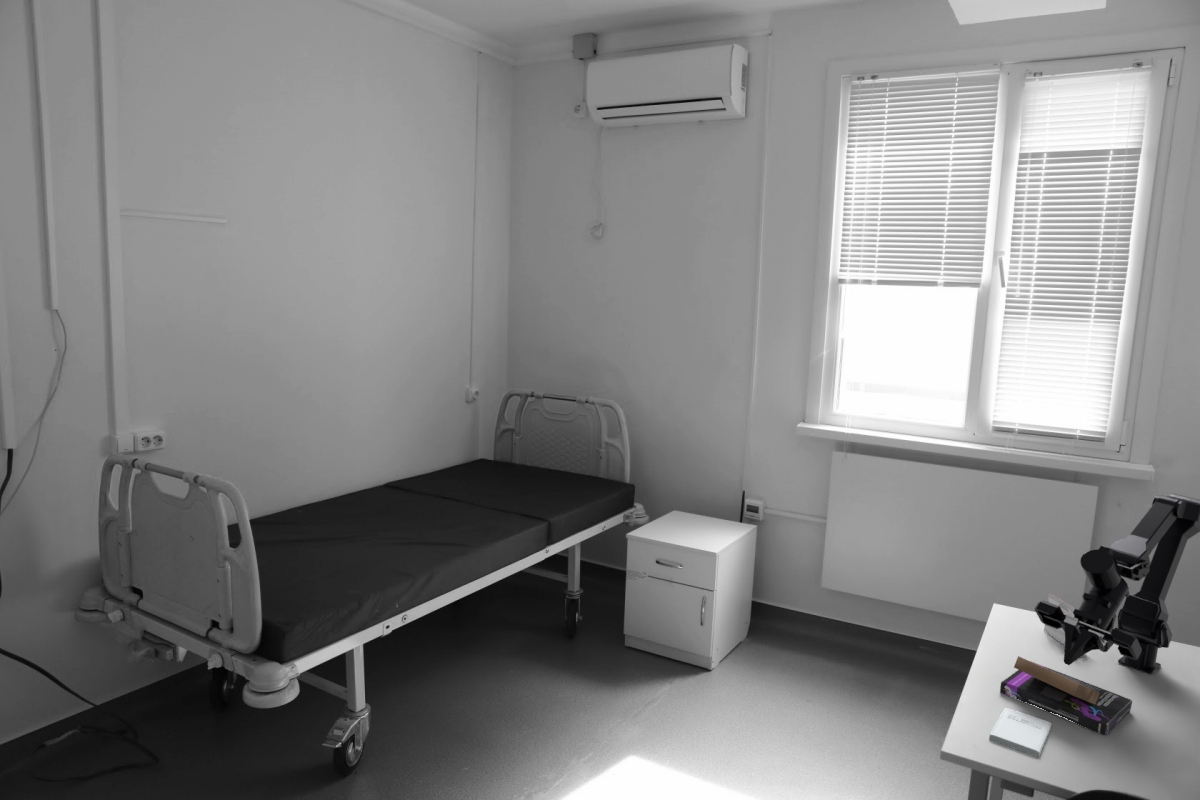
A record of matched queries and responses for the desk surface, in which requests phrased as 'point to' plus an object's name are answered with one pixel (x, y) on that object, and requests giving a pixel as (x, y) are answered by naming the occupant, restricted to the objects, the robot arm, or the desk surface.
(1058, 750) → the desk surface
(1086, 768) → the desk surface
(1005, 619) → the desk surface
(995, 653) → the desk surface
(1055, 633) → the ink cartridge box
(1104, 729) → the box
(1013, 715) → the external hard drive
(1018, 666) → the walnut board
